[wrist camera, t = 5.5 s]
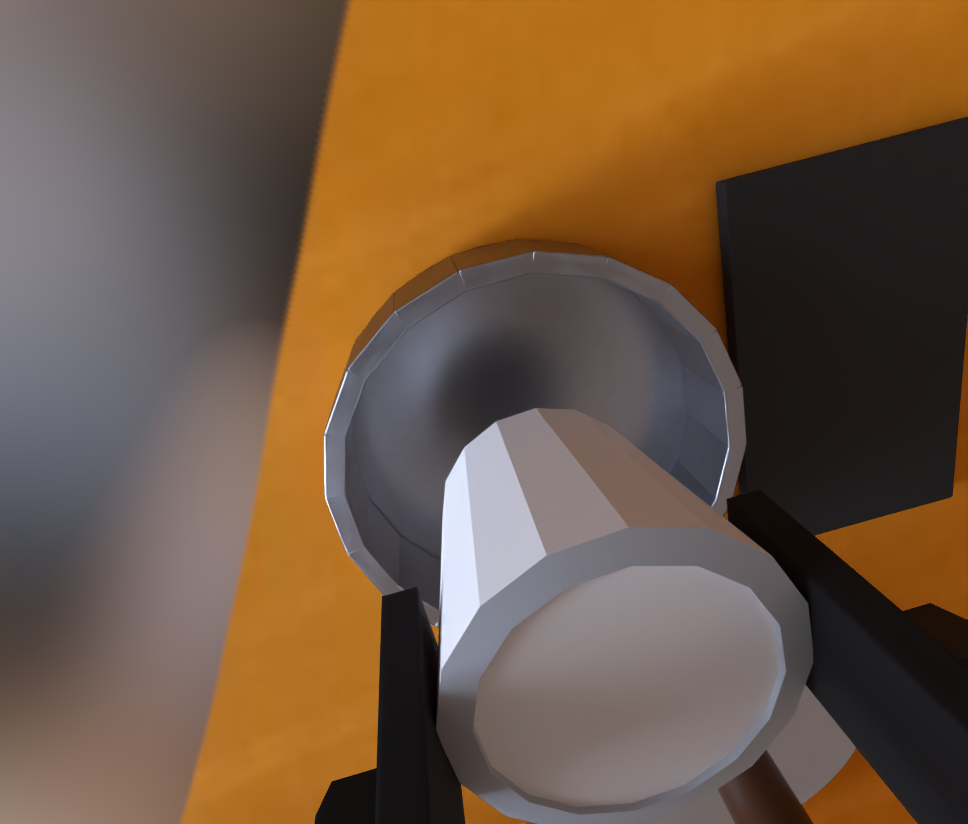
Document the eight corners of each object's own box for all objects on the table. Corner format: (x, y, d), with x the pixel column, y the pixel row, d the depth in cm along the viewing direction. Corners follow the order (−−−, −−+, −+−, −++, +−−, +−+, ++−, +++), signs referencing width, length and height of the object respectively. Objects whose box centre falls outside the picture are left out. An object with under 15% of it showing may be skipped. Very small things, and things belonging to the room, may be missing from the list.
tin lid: (591, 850, 30) (656, 1085, 22) (537, 644, 25) (598, 858, 17) (853, 774, 31) (1007, 979, 23) (856, 555, 25) (1057, 724, 17)
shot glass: (692, 532, 18) (860, 730, 12) (491, 638, 18) (543, 887, 12) (602, 337, 15) (752, 451, 9) (370, 465, 16) (353, 663, 9)
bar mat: (743, 544, 24) (751, 553, 24) (714, 182, 19) (724, 182, 18) (940, 490, 25) (952, 497, 24) (968, 116, 19) (985, 114, 19)
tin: (397, 617, 23) (396, 682, 20) (279, 298, 19) (255, 322, 16) (712, 530, 24) (756, 581, 21) (678, 194, 19) (730, 199, 16)
